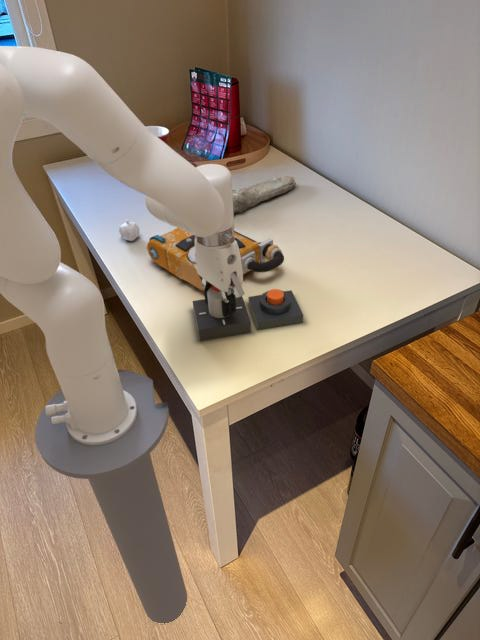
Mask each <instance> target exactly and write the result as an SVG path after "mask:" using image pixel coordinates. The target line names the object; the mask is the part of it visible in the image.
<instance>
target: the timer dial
mask: <svg viewBox="0 0 480 640" xmlns="http://www.w3.org/2000/svg"><path fill="white" fill-rule="evenodd" d="M230 294H231V290H228V292H227V295H230ZM207 296H208V306H209V313H210V315H211V316H213V317H215V318H225V317H224V316H223V313H222V301H223V296H222V293H221V290H220V289H218V288H217V287H215V286H211V288H210V289H209V290H208V292H207Z"/></svg>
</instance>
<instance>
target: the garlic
mask: <svg viewBox="0 0 480 640" xmlns="http://www.w3.org/2000/svg"><path fill="white" fill-rule="evenodd" d="M118 233H119V234H120V236H121V238H122V239H123V240H125V241H130V242H131V241H135V240H136V239H137V238H138V237H139V235H140V228H139V226H138V224H137V223H136V222H134V221H129V220H128V219H125V220H124V223H122V224H121V225H120V227H119V228H118Z"/></svg>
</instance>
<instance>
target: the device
mask: <svg viewBox="0 0 480 640" xmlns="http://www.w3.org/2000/svg"><path fill="white" fill-rule="evenodd" d="M234 234H235V240H236V241H237V244H238V247H239V251H240V256H241V263H242V272H243V276H244V275H245V274H247V273H249V272H251V271H252V272H256V273H267V272H270V271H273V270H275V269H276V268H278V267H280V266H281V265H282V264H283V263H284V261H285V255H284V254H283V252H282V249H280V247H279V246H278V245H277V244H274V239H273V238H270V237H269V238H267V239H265V240H263V241H256V240H254V239H252V238H250V237H248V236H246V235H245V234H242V233H240V232H238V231H236V230H234ZM146 249H147V253H148V255H149V257H150V259H151V260H152V261H153V262H154V263H155V264H157V265H158V266H160V267H162V268H163V269H165V270H166V271H168V272H170V273H171V274H172V275H174V276H176V277H177V278H178V279H180V280H183V281H185V282H187V283H189V284H190V285H192V286H194V287H195V288H197V289H198V290H199V291H203V292H204V289H205V288H203V286H202V280H201V278H200V277H199V274H198V273H197V270H196V268H195V267H194V264H195V235H193V234H190V233H188V232H186V231H184V230H182V229H179V228H177V227H175V228H174V229H171V230H170V231H167V232H166V233H163V234H161V235H159V234H156V235H153V236H151V237H149V239H148V242H147V244H146ZM264 260H266V261H264ZM263 261H264V262H263Z"/></svg>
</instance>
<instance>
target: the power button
mask: <svg viewBox="0 0 480 640" xmlns="http://www.w3.org/2000/svg"><path fill="white" fill-rule="evenodd" d="M267 291H268V292H267ZM267 291H266V292H267V302H268V303H269V304H271V305H280V304H282V303H283V301H284V293H283V292H282V291H283V290H281V289H279V288H278V289H277V288H273V289H269V290H267Z"/></svg>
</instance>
